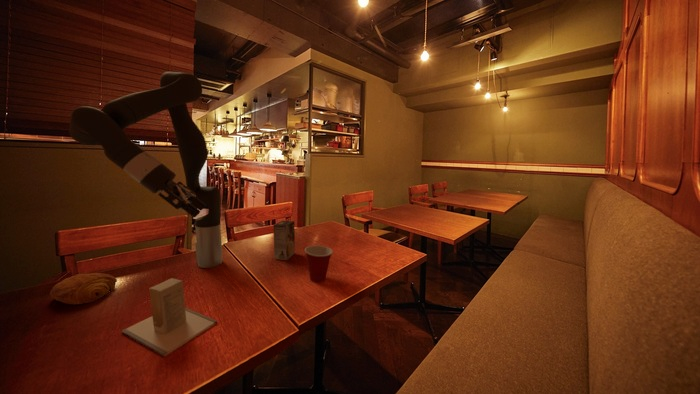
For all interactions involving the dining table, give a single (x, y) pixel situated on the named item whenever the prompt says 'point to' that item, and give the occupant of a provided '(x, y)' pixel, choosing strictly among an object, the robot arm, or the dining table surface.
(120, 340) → the dining table surface
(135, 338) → the mat
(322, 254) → the plastic cup
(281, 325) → the dining table surface
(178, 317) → the skincare box
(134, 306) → the dining table surface
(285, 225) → the coffee box
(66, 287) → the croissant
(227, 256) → the dining table surface
